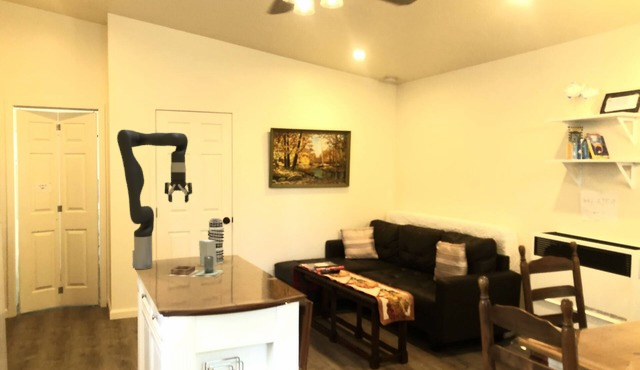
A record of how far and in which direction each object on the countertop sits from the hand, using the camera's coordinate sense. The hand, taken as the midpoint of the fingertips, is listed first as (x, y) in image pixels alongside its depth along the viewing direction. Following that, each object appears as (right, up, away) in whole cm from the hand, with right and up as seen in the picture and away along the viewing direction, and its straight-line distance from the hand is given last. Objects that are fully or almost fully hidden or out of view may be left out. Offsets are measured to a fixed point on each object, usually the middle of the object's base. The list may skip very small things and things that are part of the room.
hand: (178, 202), depth 250 cm
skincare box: (+13, -36, +10) cm, 40 cm away
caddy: (+11, -37, -8) cm, 39 cm away
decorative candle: (+15, -35, +23) cm, 45 cm away
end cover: (+18, -35, -9) cm, 41 cm away
